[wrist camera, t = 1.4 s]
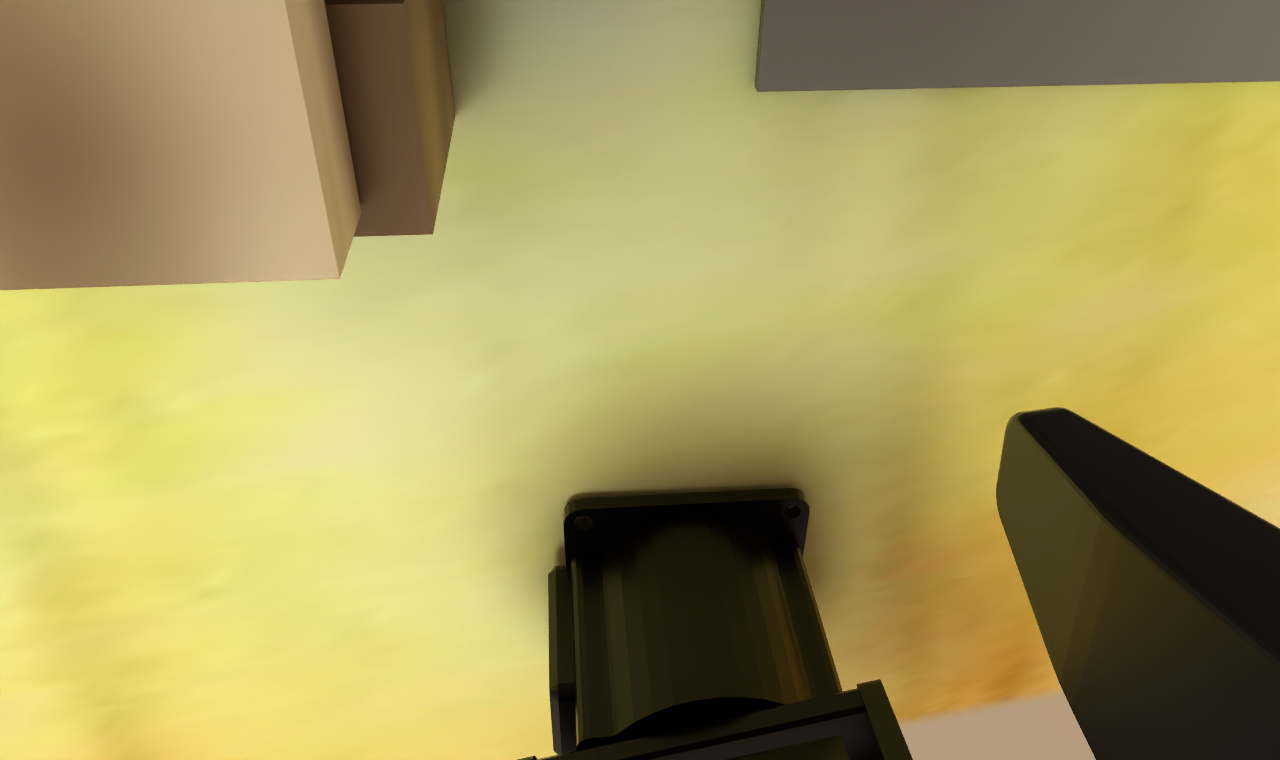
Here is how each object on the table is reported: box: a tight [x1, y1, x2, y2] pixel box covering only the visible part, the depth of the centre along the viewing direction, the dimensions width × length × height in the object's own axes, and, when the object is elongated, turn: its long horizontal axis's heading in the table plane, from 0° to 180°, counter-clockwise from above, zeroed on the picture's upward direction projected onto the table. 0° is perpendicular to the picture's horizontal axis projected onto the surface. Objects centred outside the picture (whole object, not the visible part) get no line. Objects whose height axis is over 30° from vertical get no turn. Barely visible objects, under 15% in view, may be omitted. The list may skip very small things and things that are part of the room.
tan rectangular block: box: [0, 0, 361, 290], centre depth 12 cm, size 6×4×2 cm
